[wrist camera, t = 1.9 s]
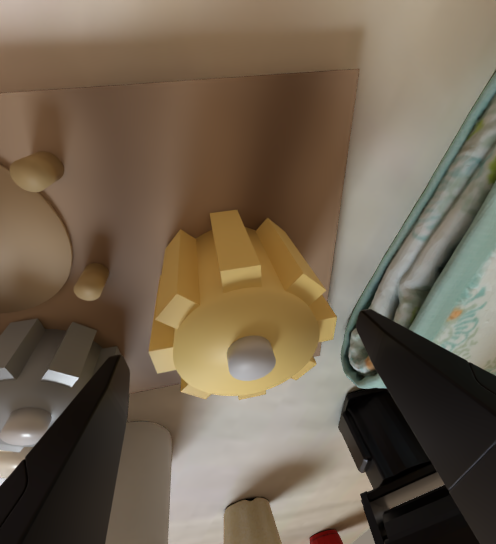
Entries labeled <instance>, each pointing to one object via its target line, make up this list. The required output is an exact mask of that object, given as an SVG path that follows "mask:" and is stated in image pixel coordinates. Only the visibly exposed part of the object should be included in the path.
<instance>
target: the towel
mask: <svg viewBox="0 0 496 544" xmlns="http://www.w3.org/2000/svg"><path fill="white" fill-rule="evenodd" d="M365 309H372V310H374V311H376V312H378V313H379V314H381V315H383V316H385V317H387V318H389V319H391V320H393V321H394V322H396V323H398V324H400V325H402V326H404V327H406V328H407V329H409V330H411V331H413V332H415V333H417V334H419V335H420V336H422V337H424V338H426V339H428V340H430V341H432V342H433V343H435V344H437V345H439V346H441V347H443V348H445V349H447V350H448V351H450V352H452V353H454V354H456V355H458V356H460V357H461V358H463V359H465V360H467V361H468V362H471V363H473V364H475V365H476V366H478V367H480V368H482V369H484V370H486V371H488V372H490V373H492V374H494V375H496V72H495V73H494V75H493V76H492V78H491V79H490V81H489V83H488V84H487V86H486V87H485V89H484V90H483V92H482V93H481V95H480V97H479V98H478V100H477V101H476V103H475V105H474V106H473V108H472V109H471V111H470V113H469V115H468V116H467V118H466V120H465V121H464V123H463V125H462V127H461V129H460V130H459V132H458V134H457V135H456V137H455V139H454V141H453V142H452V144H451V146H450V148H449V149H448V151H447V152H446V154H445V156H444V157H443V159H442V161H441V162H440V164H439V166H438V168H437V169H436V171H435V173H434V174H433V176H432V178H431V180H430V182H429V184H428V186H427V188H426V189H425V191H424V192H423V194H422V195H421V197H420V199H419V200H418V202H417V203H416V205H415V207H414V208H413V210H412V212H411V213H410V215H409V217H408V218H407V220H406V222H405V223H404V225H403V226H402V228H401V230H400V231H399V233H398V235H397V236H396V238H395V240H394V241H393V243H392V244H391V246H390V248H389V249H388V251H387V253H386V254H385V256H384V258H383V259H382V261H381V262H380V264H379V266H378V268H377V270H376V272H375V273H374V275H373V277H372V278H371V280H370V282H369V283H368V285H367V287H366V288H365V290H364V292H363V294H362V295H361V297H360V299H359V301H358V303H357V305H356V307H355V309H354V311H353V313H352V316H351V318H350V320H349V323H348V325H347V328H346V331H345V335H344V341H343V345H342V349H341V362H342V366H343V370H344V373H345V375H346V377H347V378H349V379H350V380H351V381H352V382H353V383H354V384H355V385H356V386H357V387H359V388H363V389H370V388H386V386H385V384H384V383H383V381H382V379H381V378H380V376H379V374H378V373H377V371H376V369H375V368H374V366H373V364H372V362H371V360H370V358H369V356H368V354H367V351H366V349H365V347H364V345H363V343H362V341H361V338H360V336H359V334H358V332H357V329H356V323H357V319H358V315H359V312H360V311H361V310H365Z"/></svg>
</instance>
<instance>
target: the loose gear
mask: <svg viewBox="0 0 496 544" xmlns="http://www.w3.org/2000/svg"><path fill="white" fill-rule="evenodd" d="M210 219H211V226H212V230H210V231H208V232H206V233H204V234H202V235H200V236H199V237H197V238H196V239H195V238H194V237H192V236H190V235H189V234H187V233H186V232H184V231H183V230H181V229H180V230H179V232H178V233H177V234H176V236H175V237H174V238H173V240H172V241H171V242H170V243H169V245H168V246H167V247H166V249H165V254H164V261H163V268H162V274H161V275H160V279H159V286H158V292H157V299H156V305H155V312H154V318H153V325H152V331H151V338H150V344H149V351H148V352H149V354H150V357H151V359H152V362H153V364H154V367H155V369H156V371H157V374H158V373H163V372H168V371H173V370H177V372H178V374H179V375H180V376H181V392H183V393H186V394H189V395H193V396H196V397H199V398H203V399H207V398H208V397H209V396H210V395H211V394H215V395H222V396H238V398H239V400H241V399H246V398H250V397H255V396H260V395H264V394H266V390H267V389H270V388H272V387H275V386H277V385H279V384H281V383H283V382H285V381H286V380H288V379H290V378H292V379H294V380H297V379H299V378H300V377H301V376H302V375H304V374H305V373H306V372H307V371H309V370H310V369H311V368H312V367H314V366H315V365H316V361H315V359H314V357H313V354H314V353H315V351H316V348H317V346H318V342H323V341H328V340H333V337H334V331H335V326H336V320H337V316H336V315H335V313H334V312H333V310H332V309H331V307H330V306H329V304H328V303H327V301H326V300H325V298H324V297H323V295H322V294H323V293H324V292H325V291H326V289H325V287H324V286H323V285H322V283H321V282H320V280H319V279H318V278H317V276H316V275H315V273H314V272H313V270H312V269H311V268H310V266H309V265H308V263H307V262H306V261H305V259H304V258H303V256H302V255H301V254H300V252H299V251H298V249H297V248H296V246H295V245H294V244H293V242H292V241H291V239H290V238H289V237H288V235H287V234H286V232H285V231H283V230H282V229H281V228H280V227H279V226H277V225H276V224H275V223H274V222H272V221H271V220H270V219H269V218H267V219H266V220H265V221H264V222H263V223H262V224H261V225H260V227H259V228H258V229H257V230H253V229H250V228H247V227H244V224H243V222H242V220H241V217H240V215H239V213H238V210H230V211H223V212H215V213H210Z"/></svg>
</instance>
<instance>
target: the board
mask: <svg viewBox="0 0 496 544" xmlns="http://www.w3.org/2000/svg"><path fill="white" fill-rule="evenodd" d="M358 76H359V69H349V70H334V71H319V72H305V73H290V74H275V75H260V76H246V77H231V78H216V79H202V80H187V81H172V82H158V83H143V84H128V85H113V86H99V87H84V88H69V89H55V90H40V91H25V92H10V93H0V335H1V334H2V333H3V331H4V330H5V329H6V328H7V326H8V325H9V324H10V323H12V322H18V321H24V320H30V319H36V318H38V320H39V321H40V322H41V324H42V325H43V327H44V328H45V329H58V330H65V331H66V330H67V329H68V327H69V326H70V325H71V323H72V322H75V323H78V324H80V325H83V326H86V327H89V328H91V329H94V330H97V332H96V335H95V337H94V340H93V341H94V342H96V343H97V344H98V345H100V346H101V347H102V348H103V349H104V348H109V347H115V346H117V347H118V349H119V351H120V353H121V355H123V357H124V359H125V361H126V363H127V365H128V367H129V369H130V386H129V394H131V393H136V392H141V391H146V390H151V389H156V388H161V387H166V386H171V385H176V384H181V376H180V375H179V374H178V372H177V370H173V371H168V372H163V373H158V374H157V371H156V369H155V367H154V364H153V362H152V359H151V357H150V354H149V352H148V351H149V344H150V338H151V331H152V325H153V318H154V312H155V305H156V299H157V292H158V286H159V279H160V275H161V274H162V268H163V261H164V254H165V249H166V247H167V246H168V245H169V243H170V242H171V241H172V240H173V238H174V237H175V236H176V234H177V233H178V232H179V230H180V229H181V230H183V231H184V232H186V233H187V234H189V235H190V236H192V237H194V238H195V239H196V238H197V237H199V236H200V235H202V234H204V233H206V232H208V231H210V230H212V226H211V219H210V213H215V212H223V211H230V210H238V213H239V215H240V217H241V220H242V222H243V224H244V227H247V228H250V229H253V230H257V229H258V228H259V227H260V225H261V224H262V223H263V222H264V221H265V220H266V219H267V218H269V219H270V220H271V221H272V222H274V223H275V224H276V225H277V226H279V227H280V228H281V229H282V230H283V231H285V232H286V234H287V235H288V237H289V238H290V239H291V241H292V242H293V244H294V245H295V246H296V248H297V249H298V251H299V252H300V254H301V255H302V256H303V258H304V259H305V261H306V262H307V263H308V265H309V266H310V268H311V269H312V270H313V272H314V273H315V275H316V276H317V278H318V279H319V280H320V282H321V283H322V285H323V286H324V287H325V289H326V291H325V292H324V293H323V294H322V295H323V297H324V298H325V300H326V301H327V299H328V292H329V285H330V278H331V271H332V263H333V256H334V249H335V242H336V235H337V227H338V220H339V213H340V206H341V199H342V191H343V184H344V177H345V170H346V163H347V155H348V148H349V141H350V134H351V127H352V119H353V112H354V105H355V98H356V91H357V83H358ZM321 343H322V342H318V346H317V348H316V351H315V353H314V354H313V357H315V356H320V350H321Z"/></svg>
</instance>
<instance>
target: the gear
mask: <svg viewBox="0 0 496 544" xmlns="http://www.w3.org/2000/svg"><path fill="white" fill-rule="evenodd" d="M96 332H97V330H94V329H91V328H89V327H86V326H83V325H80V324H78V323H75V322H72V323H71V325H70V326H69V327H68V329H67V330H66V331H65V330H58V329H45V328H44V327H43V325H42V324H41V322H40V321H39V320H38V318H36V319H30V320H24V321H18V322H12V323H10V324H9V325H8V326H7V328H6V329H5V330H4V331H3V333H2V334H1V335H0V450H4V451H11V452H20V451H21V450H22V449H23V447H34V446H35V444H36V443H37V442H38V441H39V440H40V438H41V437H42V436H43V435H44V434H45V432H46V431H47V430H48V429H49V428H50V426H51V425H52V424H53V423H54V422H55V421H56V419H57V418H58V417H59V416H60V415H61V413H62V412H63V411H64V410H65V409H66V407H67V406H68V405H69V404H70V403H71V401H72V400H73V399H74V398H75V397H76V395H77V394H78V393H79V392H80V391H81V389H82V388H83V387H84V386H85V385H86V383H87V382H88V381H89V380H90V379H91V377H92V376H93V375H94V374H95V373H96V371H97V370H98V369H99V368H100V367H101V365H102V364H103V363H104V362H105V361H106V359H107V358H108V357H110V356H114V355H119V354H120V355H121V353H120V351H119V349H118V347H117V346H115V347H109V348H104V349H103V348H102V347H101V346H100V345H98V344H97V343H96V342H94V341H93V340H94V337H95V335H96Z"/></svg>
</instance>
